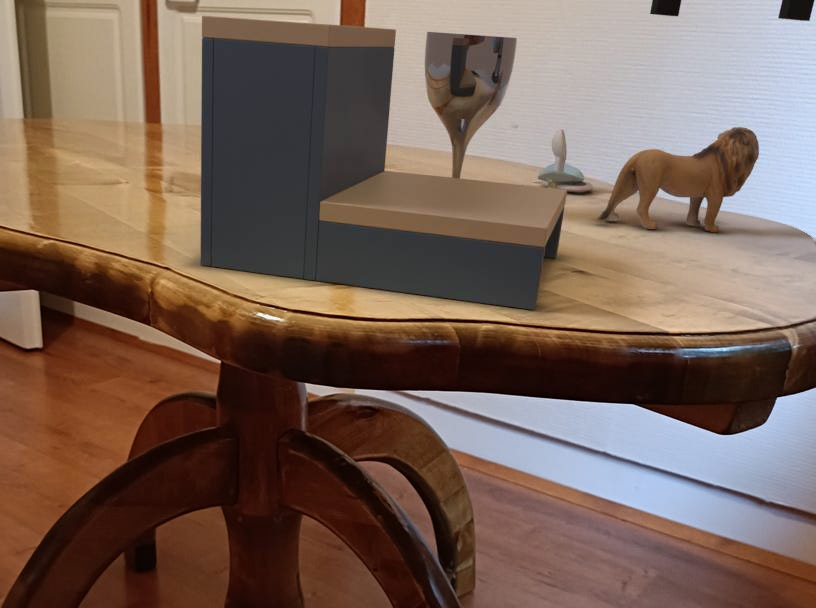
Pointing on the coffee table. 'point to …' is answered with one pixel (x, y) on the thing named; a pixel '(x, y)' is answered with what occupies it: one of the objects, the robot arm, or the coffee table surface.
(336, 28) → the two-step block
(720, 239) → the coffee table surface
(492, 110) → the wine glass
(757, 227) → the coffee table surface
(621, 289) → the coffee table surface
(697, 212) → the lion figurine
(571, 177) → the pacifier
